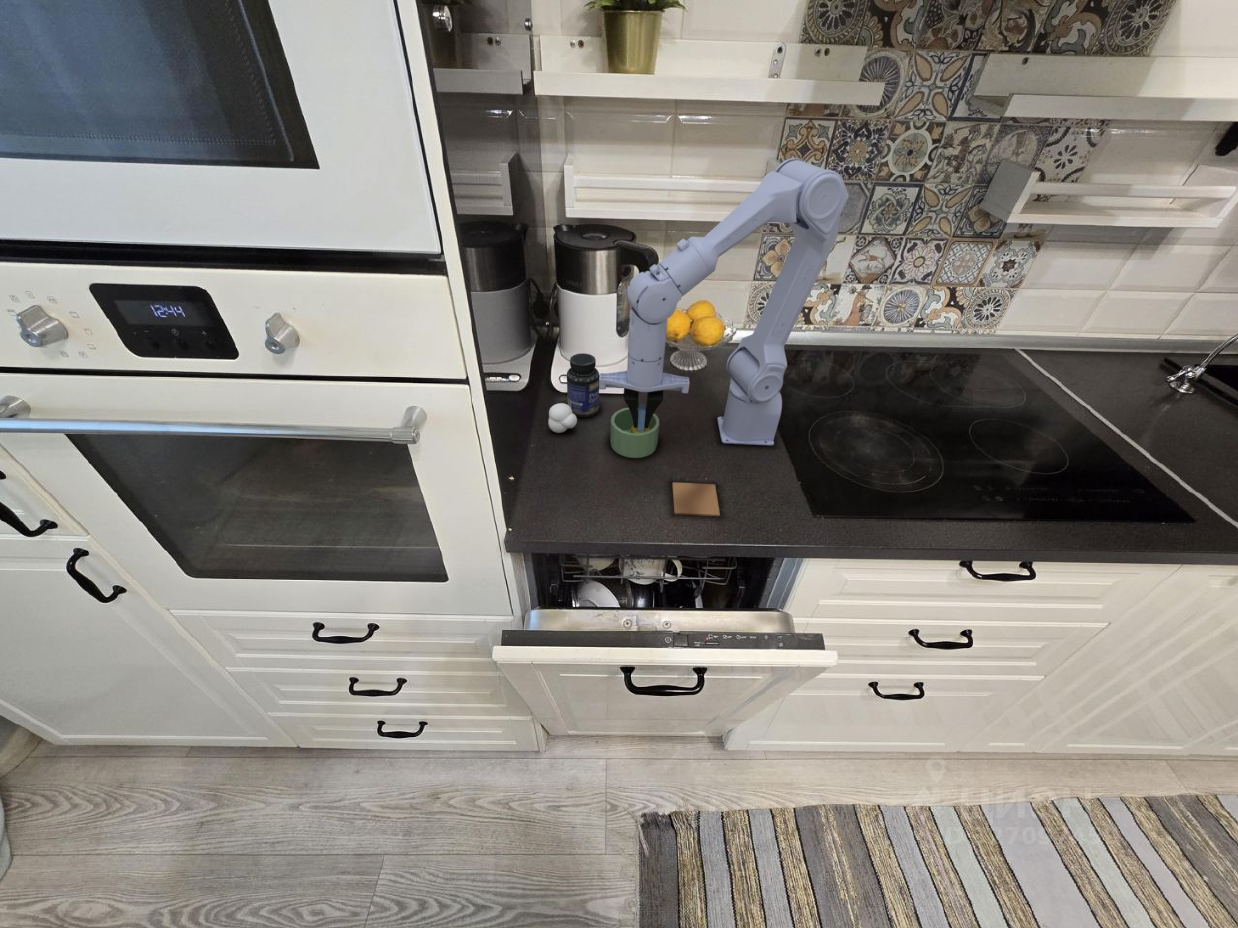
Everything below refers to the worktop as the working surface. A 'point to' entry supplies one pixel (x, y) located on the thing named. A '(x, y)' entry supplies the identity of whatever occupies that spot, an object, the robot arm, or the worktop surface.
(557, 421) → the microfossil shell
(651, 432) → the green round open container
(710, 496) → the mat
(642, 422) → the brush
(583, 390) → the pill bottle
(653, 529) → the worktop surface
